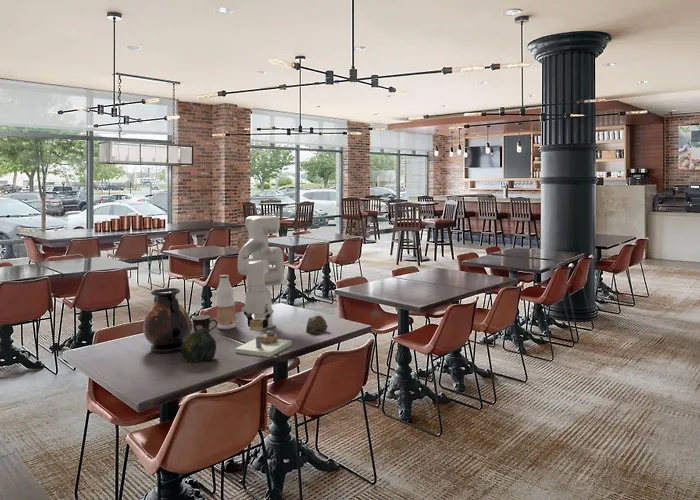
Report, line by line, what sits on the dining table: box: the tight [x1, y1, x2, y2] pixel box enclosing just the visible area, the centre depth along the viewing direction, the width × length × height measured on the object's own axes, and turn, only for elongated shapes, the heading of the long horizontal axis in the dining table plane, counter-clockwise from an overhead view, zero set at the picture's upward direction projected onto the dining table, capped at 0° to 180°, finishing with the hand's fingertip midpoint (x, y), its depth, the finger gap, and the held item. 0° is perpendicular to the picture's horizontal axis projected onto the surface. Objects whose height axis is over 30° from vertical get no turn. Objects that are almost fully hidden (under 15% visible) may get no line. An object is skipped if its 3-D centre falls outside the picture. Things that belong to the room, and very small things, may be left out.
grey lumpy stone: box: [305, 315, 328, 335], centre depth 287 cm, size 11×9×10 cm
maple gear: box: [249, 318, 267, 332], centre depth 254 cm, size 7×7×4 cm
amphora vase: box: [142, 287, 193, 354], centre depth 261 cm, size 22×22×28 cm
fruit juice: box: [215, 274, 236, 330], centre depth 298 cm, size 9×9×28 cm
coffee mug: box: [191, 314, 218, 333], centre depth 281 cm, size 12×9×10 cm
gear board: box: [235, 330, 293, 358], centre depth 260 cm, size 18×20×7 cm
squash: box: [180, 328, 217, 363], centre depth 245 cm, size 14×15×15 cm
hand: (258, 326), depth 254 cm, fingers closed on maple gear, 7 cm apart
